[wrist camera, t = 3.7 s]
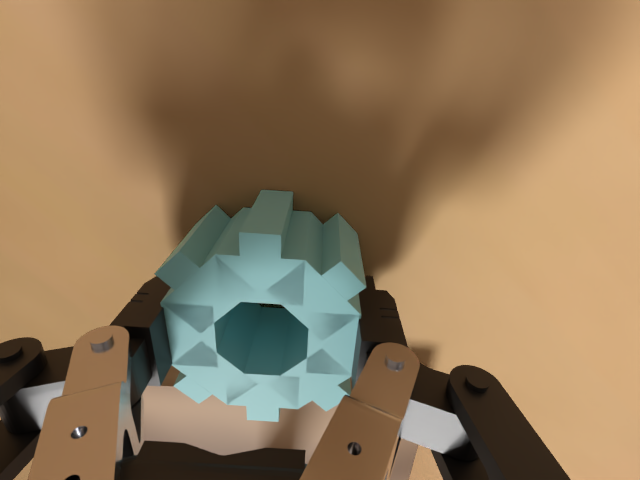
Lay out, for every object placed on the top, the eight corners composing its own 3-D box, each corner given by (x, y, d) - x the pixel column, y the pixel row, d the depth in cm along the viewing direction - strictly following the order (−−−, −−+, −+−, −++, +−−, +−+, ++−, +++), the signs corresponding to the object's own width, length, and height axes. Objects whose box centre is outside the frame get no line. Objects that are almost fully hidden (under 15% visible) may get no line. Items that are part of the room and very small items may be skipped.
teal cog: (192, 185, 12) (146, 226, 9) (361, 196, 12) (373, 240, 9) (208, 344, 16) (178, 415, 12) (343, 353, 16) (347, 426, 13)
